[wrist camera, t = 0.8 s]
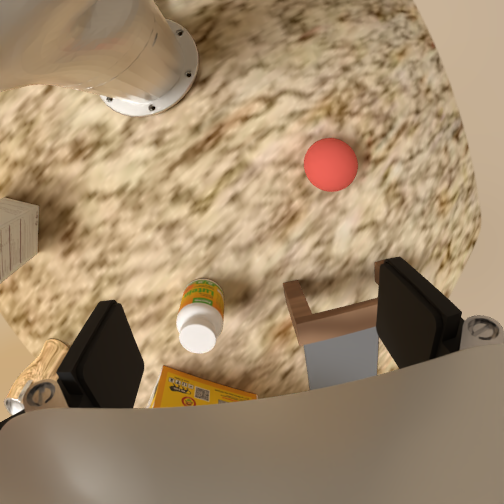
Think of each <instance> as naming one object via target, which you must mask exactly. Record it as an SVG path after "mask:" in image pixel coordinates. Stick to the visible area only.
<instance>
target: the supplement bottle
mask: <svg viewBox="0 0 504 504" xmlns="http://www.w3.org/2000/svg"><path fill="white" fill-rule="evenodd" d="M223 317H224V294H223V291H222V289H221V287H220V286H219V285H218V284H217V283H215V282H214V281H212V280H209V279H197V280H194V281H192V282H191V283H189V284H188V285H187V287H186V288H185V291H184V294H183V297H182V301H181V305H180V309H179V312H178V316H177V322H176V323H177V329H178V331H179V333H180V335H179V339H180V342H181V344H182V346H183V347H184V348H185V349H187V350H188V351H190V352H193V353H206V352H208V351H210V350H211V349H212V348H213V347H214V346H215V344H216V339H217V338H218V337H219V335H220V334H221V332H222V329H223Z"/></svg>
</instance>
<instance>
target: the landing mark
mask: <svg viewBox="0 0 504 504" xmlns="http://www.w3.org/2000/svg"><path fill="white" fill-rule="evenodd" d="M378 337H379V336H378V334H377V331H376V326H375V327H372V328H368V329H365V330H361V331H358V332H354V333H350V334H347V335H343V336H339V337H335V338H331V339H327V340H323V341H319V342H315V343H311V344H306V345H304V350H305V357H306V364H307V372H308V379H309V387H310V390H315V389H320V388H325V387H330V386H334V385H339V384H343V383H348V382H352V381H356V380H360V379H364V378H368V377H372V376H376V375H377V361H378Z"/></svg>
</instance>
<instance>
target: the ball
mask: <svg viewBox="0 0 504 504" xmlns="http://www.w3.org/2000/svg"><path fill="white" fill-rule="evenodd" d="M304 169H305V173H306V175H307V177H308V179H309V180H310V182H311V183H312V184H313V185H314V186H316V187H317V188H319V189H321V190H324V191H329V192H334V191H340V190H342V189H344V188H346V187H347V186H349V185H350V184H351V183H352V181H353V180H354V178H355V176H356V174H357V169H358V162H357V158H356V155H355V153H354V151H353V150H352V148H351V147H350V146H349V145H348V144H346V143H345V142H343V141H341V140H338V139H335V138H325V139H321V140H319V141H317V142H315V143H314V144H313V145H312V146H311V147H310V148H309V149H308V151H307V153H306V155H305V159H304Z"/></svg>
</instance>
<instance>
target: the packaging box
mask: <svg viewBox="0 0 504 504" xmlns="http://www.w3.org/2000/svg"><path fill="white" fill-rule="evenodd" d="M254 399H258V395H256V394H252V393H249V392H245V391H241V390H238V389H234V388H231V387H227V386H224V385H221V384H217V383H214V382H211V381H208V380H205V379H202V378H198V377H195V376H192V375H189V374H186V373H183V372H181V371H178V370H175V369H172V368H169V367H166V366H163V367H162V370H161V372H160V374H159V377H158V379H157V382H156V384H155V387H154V389H153V392H152V394H151V397H150V399H149V402H148V405H147V407H146V408H165V407H183V406H198V405H210V404H221V403H230V402H239V401H247V400H254Z"/></svg>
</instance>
